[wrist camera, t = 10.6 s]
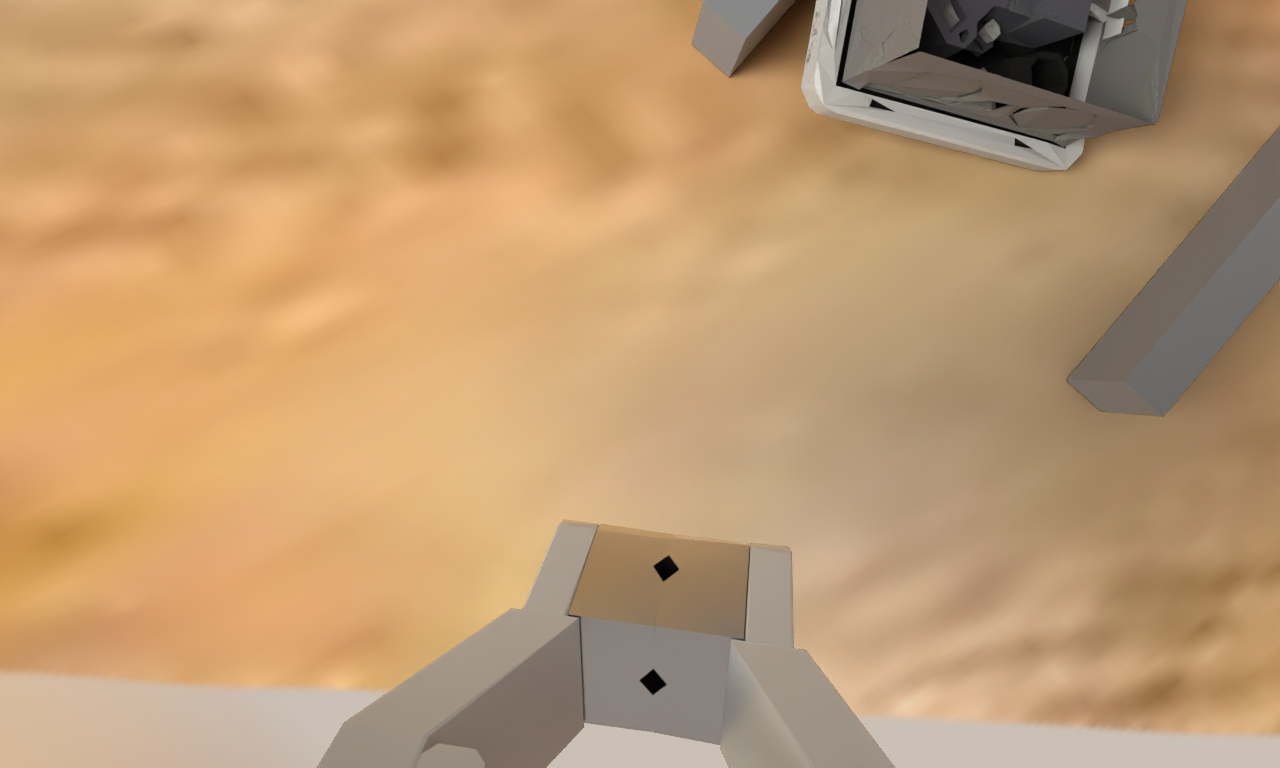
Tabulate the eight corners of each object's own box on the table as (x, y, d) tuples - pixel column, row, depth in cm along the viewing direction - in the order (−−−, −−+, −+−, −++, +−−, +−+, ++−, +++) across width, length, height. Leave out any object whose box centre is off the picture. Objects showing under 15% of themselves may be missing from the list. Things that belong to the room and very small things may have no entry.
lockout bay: (1100, 411, 22) (1163, 416, 20) (691, 44, 21) (702, 0, 19) (1422, 29, 23) (1524, -14, 20) (1032, -349, 22) (1088, -443, 19)
